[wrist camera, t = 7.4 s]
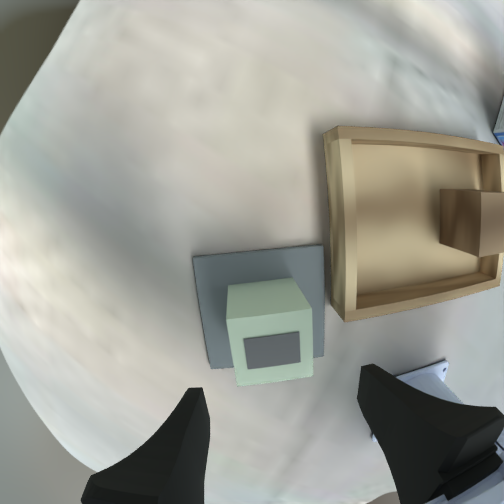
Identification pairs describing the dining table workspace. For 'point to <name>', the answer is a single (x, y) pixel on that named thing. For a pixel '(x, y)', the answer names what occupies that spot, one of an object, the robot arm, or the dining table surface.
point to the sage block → (269, 331)
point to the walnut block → (472, 221)
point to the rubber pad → (255, 270)
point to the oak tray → (402, 218)
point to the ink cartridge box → (500, 125)
